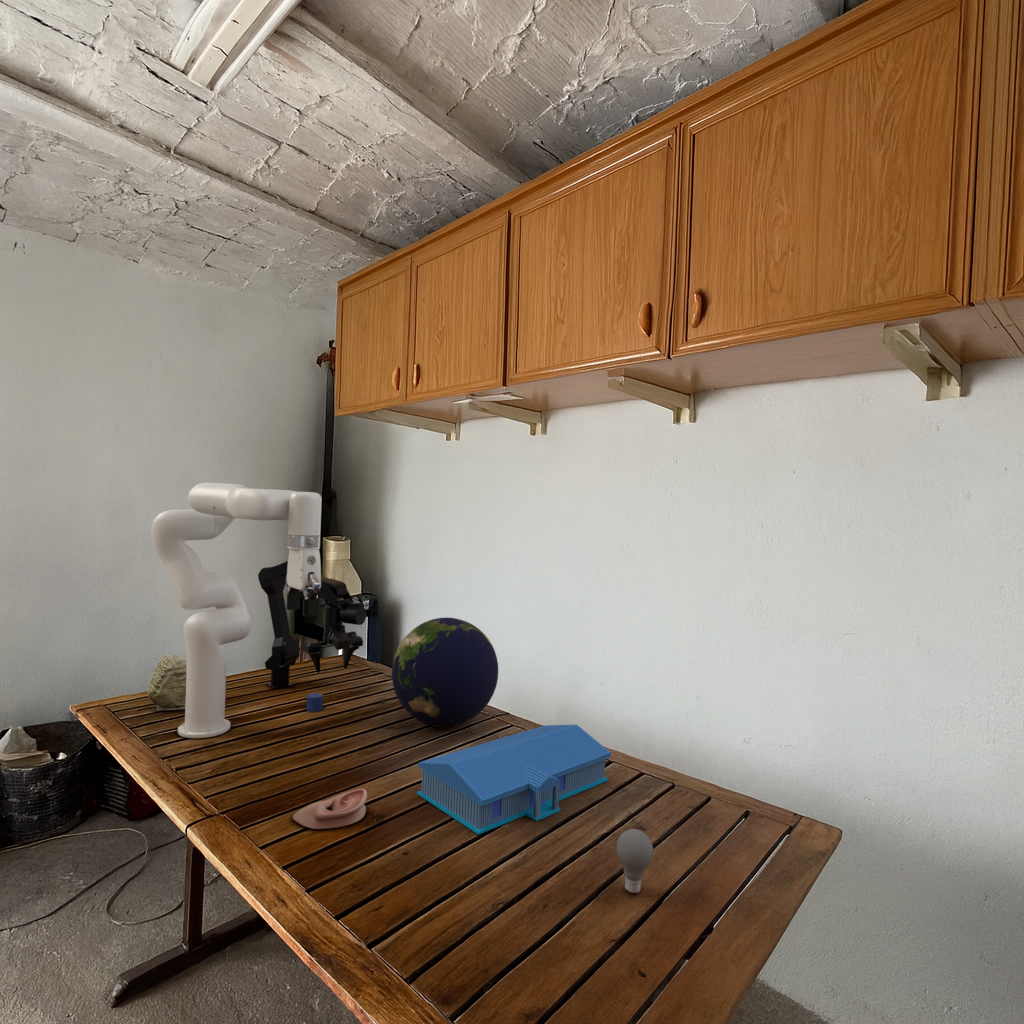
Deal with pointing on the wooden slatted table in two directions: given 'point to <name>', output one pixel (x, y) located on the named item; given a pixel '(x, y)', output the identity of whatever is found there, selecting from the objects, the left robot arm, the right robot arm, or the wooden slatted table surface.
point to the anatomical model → (334, 811)
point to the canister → (314, 702)
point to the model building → (514, 776)
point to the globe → (445, 672)
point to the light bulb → (634, 857)
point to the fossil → (169, 683)
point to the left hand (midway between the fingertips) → (301, 612)
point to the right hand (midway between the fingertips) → (332, 670)
